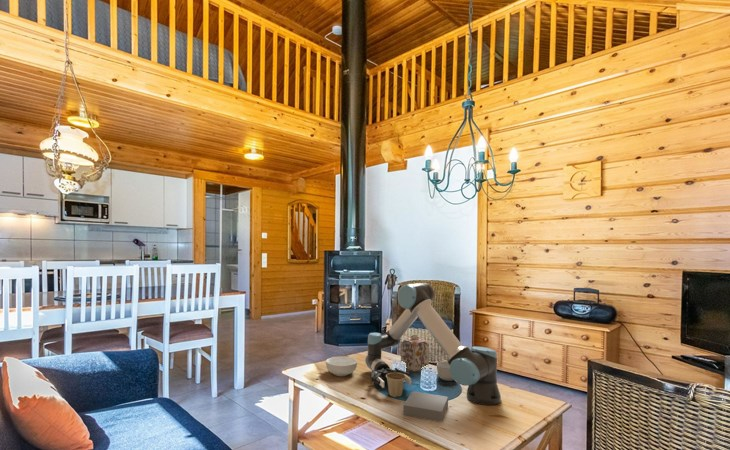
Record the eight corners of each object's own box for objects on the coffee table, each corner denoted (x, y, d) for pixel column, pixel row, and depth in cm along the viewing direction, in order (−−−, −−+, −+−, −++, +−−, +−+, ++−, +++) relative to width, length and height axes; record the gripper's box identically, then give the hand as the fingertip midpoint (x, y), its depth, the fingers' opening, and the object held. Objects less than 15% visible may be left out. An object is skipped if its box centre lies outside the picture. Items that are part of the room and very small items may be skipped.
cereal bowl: (363, 374, 206) (363, 361, 206) (339, 381, 195) (339, 367, 195) (343, 366, 218) (343, 353, 219) (319, 373, 207) (319, 359, 207)
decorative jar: (400, 366, 221) (400, 334, 221) (414, 362, 228) (415, 332, 228) (414, 372, 211) (415, 339, 212) (429, 368, 218) (429, 336, 219)
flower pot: (404, 390, 185) (404, 372, 185) (406, 398, 175) (407, 379, 176) (384, 390, 184) (384, 372, 185) (386, 398, 175) (386, 379, 175)
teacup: (457, 383, 195) (458, 367, 195) (436, 381, 197) (436, 366, 197) (456, 374, 209) (457, 359, 209) (436, 372, 211) (436, 357, 211)
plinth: (447, 406, 168) (448, 396, 168) (441, 421, 153) (441, 411, 153) (412, 400, 174) (412, 391, 174) (403, 414, 159) (403, 405, 159)
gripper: (402, 373, 202) (420, 388, 182) (357, 378, 194) (371, 394, 174) (402, 359, 202) (421, 372, 182) (358, 363, 194) (372, 377, 174)
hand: (397, 383), depth 178 cm, fingers open, 13 cm apart
